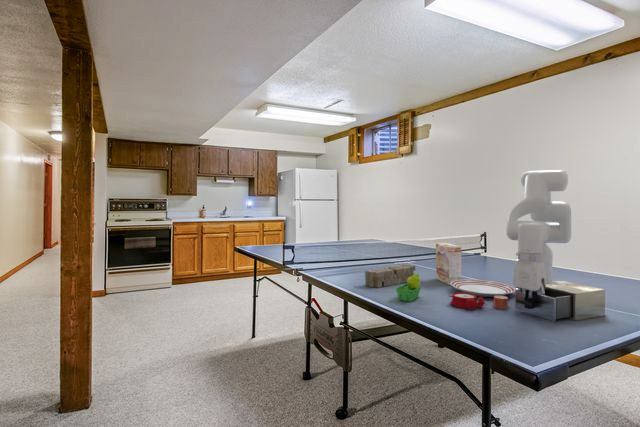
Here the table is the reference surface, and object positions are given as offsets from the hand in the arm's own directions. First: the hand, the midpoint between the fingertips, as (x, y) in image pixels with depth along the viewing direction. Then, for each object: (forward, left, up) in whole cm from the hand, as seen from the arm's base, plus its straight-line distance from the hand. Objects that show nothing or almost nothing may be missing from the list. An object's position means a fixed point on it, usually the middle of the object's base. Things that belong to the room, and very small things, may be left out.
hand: (529, 308), depth 130 cm
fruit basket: (-38, -24, -4) cm, 45 cm away
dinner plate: (-35, +13, -4) cm, 37 cm away
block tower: (-68, -15, -4) cm, 70 cm away
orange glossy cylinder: (-14, +2, -4) cm, 15 cm away
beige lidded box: (0, +20, -4) cm, 20 cm away
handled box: (0, +7, -3) cm, 7 cm away
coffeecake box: (-59, +14, -4) cm, 61 cm away
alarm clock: (-20, -9, -4) cm, 23 cm away
